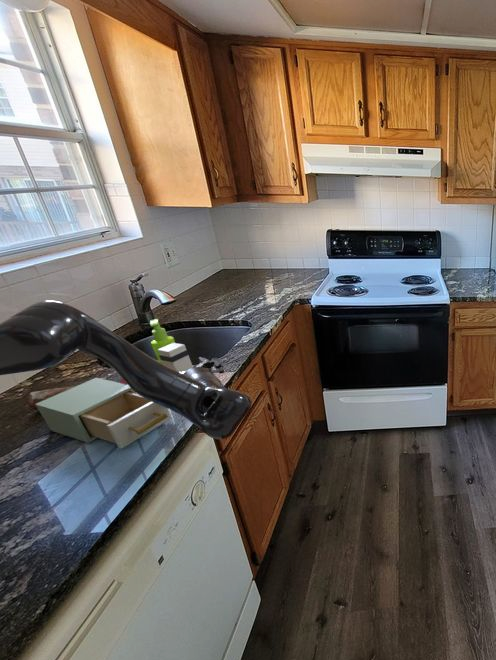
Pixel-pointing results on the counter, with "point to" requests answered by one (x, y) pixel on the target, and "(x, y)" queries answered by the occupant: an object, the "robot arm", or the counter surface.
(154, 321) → the soap dispenser
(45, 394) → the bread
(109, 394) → the cabinet
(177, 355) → the white tall square block
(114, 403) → the drawer
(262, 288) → the counter surface
